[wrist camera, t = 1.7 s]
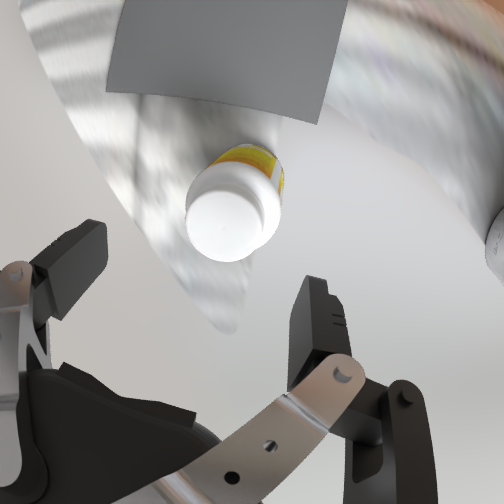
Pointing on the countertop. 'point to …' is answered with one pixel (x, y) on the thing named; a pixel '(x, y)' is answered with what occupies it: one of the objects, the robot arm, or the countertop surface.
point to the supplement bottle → (235, 203)
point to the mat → (230, 52)
